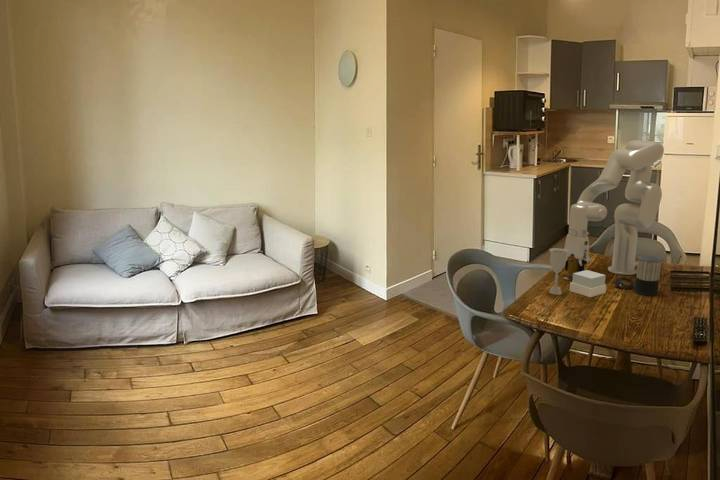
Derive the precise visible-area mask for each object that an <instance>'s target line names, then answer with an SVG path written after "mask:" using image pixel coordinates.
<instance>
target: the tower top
mask: <svg viewBox="0 0 720 480" xmlns="http://www.w3.org/2000/svg"><path fill="white" fill-rule="evenodd" d="M606 276H607V275H606V274H603V273H599V272H595V271H592V270H588V269H586V270H585V269H584V271H581V272H577V273H573V280H571V282H572V283H575V284H578V285H582V286H585V287H588V288H594V287H597V286H601V285H605V284H606Z"/></svg>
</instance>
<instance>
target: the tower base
mask: <svg viewBox="0 0 720 480" xmlns="http://www.w3.org/2000/svg"><path fill="white" fill-rule="evenodd" d="M606 289H607V284H606V283H605V285H601V286H597V287H594V288H588V287H585V286H582V285H578V284H575V283H572V281H571V282H570V283H569V292H572V293H573V294H574V293H575V294H577V295H581V296H585V297H588V298H592V297H596V296H600V295H603V294H607V293H606V292H607V290H606Z"/></svg>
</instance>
